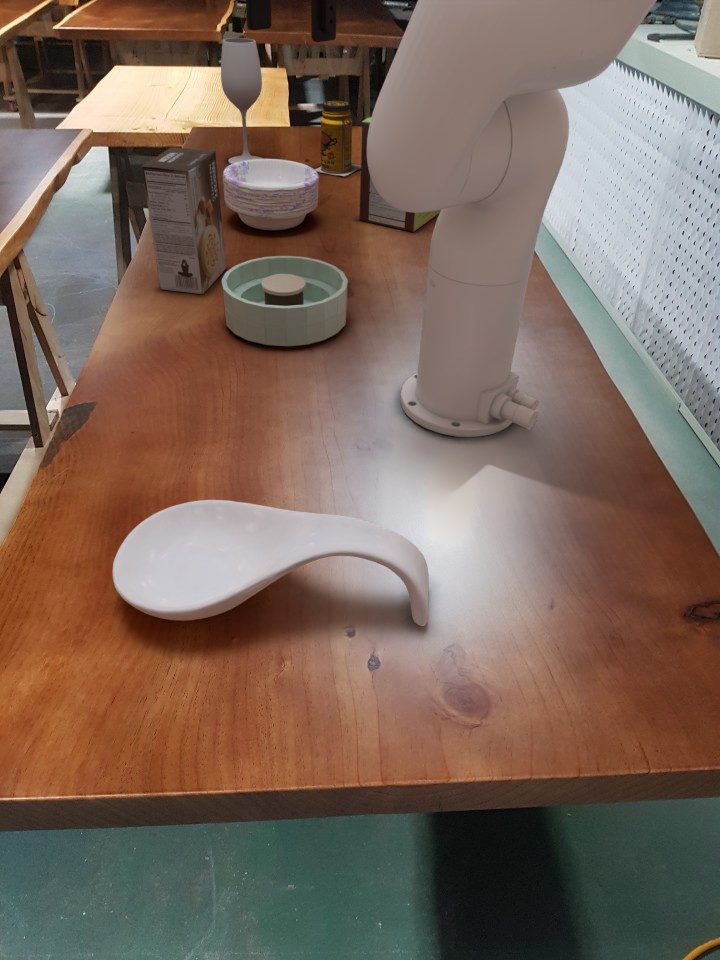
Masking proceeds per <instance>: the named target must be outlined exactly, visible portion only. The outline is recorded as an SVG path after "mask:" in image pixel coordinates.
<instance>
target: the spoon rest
mask: <svg viewBox="0 0 720 960" xmlns="http://www.w3.org/2000/svg"><path fill="white" fill-rule="evenodd" d="M330 557H331V558H332V557H351V558H353V557H354V558H359V559H363V560H366V561H367V560H368V561H370V562H372V563H373V562H374V563H376V564H379V565H381V566H383V567H386V568H387V569H389V570H390V571H391V572H393V573H394V574H395V575H396V576H397V577H398V578H399V579H400V580H401V581H402V583H403V584H404V585H405V587H406V590H407V593H408V596H409V602H410V609H411V610H410V611H411V617H412V620H413V622H414V623H415V624H416V625H418V626H421V627H424V626H426V625H427V623H428V618H429V592H430V591H429V590H430V589H429V588H430V587H429V585H430V583H429V576H430V575H429V568H428V567H429V566H428V564H427V559H426V558H425V555H424V554H423V553H422V551H421V550H420V548H418V547H417V545H416V544H414V543H413V542H412V541H411V540H409V539H408V538H406V537H404V536H403V535H402V534H399V533H398V532H396V531H393V530H392V529H389V528H387V527H384V526H382V525H379V524H376V523H373V522H371V521H367V520H364V519H360V518H357V517H351V516H346V515H340V514H328V513H318V512H308V511H307V512H306V511H298V510H290V509H283V508H279V507H273V506H266V505H261V504H255V503H249V502H241V501H236V500H235V501H234V500H224V499H204V500H201V499H200V500H194V501H188V502H184V503H183V502H182V503H178V504H176V505H173V506H172V505H171V506H169V507H167V508H164V509H161V510H160V511H157V512H155V513H153V514H152V515H150V516H148V517H147V518H145V519H144V520H142V521H141V522H140V523H139V524H137V526H135V527H134V528H133V529H132V530H131V531H130V532H129V533H128V535H126V537H125V539H124V540H123V541H122V543H121V545H120V546H119V547H118V549H117V552H116V554H115V557H114V558H113V563H112V582H113V586H114V588H115V590H116V592H117V593H118V595H119V596H120V597H121V599H122V600H124V601H125V602H126V603H127V604H129V605H130V606H132V607H133V608H135V609H136V610H138V611H140V612H142V613H144V614H146V615H149V616H152V617H155V618H158V619H163V620H169V621H194V620H203V619H207V618H211V617H214V616H218V615H220V614H223V613H226V612H228V611H231V610H232V609H234V608H235V607H238V606H239V605H241V604H243V603H244V602H245V601H247V600H248V599H250V598H251V597H253V596H255V595H256V594H257V593H259V592H261V591H262V590H264V589H265V588H267V587H268V586H270V585H271V584H273V583H274V582H276V581H278V580H279V579H281V578H282V577H284V576H286V575H288V574H289V573H291V572H293V571H295V570H297V569H298V568H300V567H303V566H305V565H307V564H309V563H312V562H315V561H317V560H321V559H325V558H330Z"/></svg>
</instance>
